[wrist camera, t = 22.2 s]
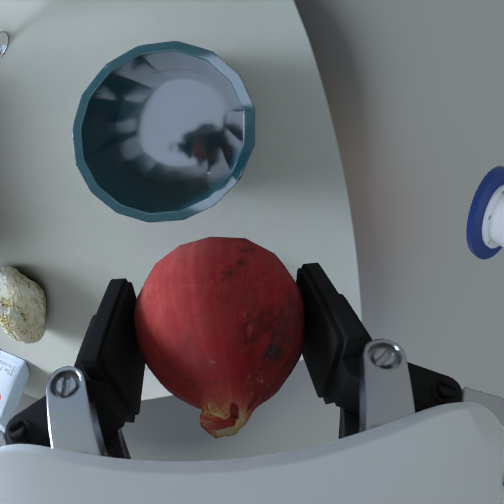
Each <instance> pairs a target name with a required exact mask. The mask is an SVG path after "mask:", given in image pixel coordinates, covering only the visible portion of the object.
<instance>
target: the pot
mask: <svg viewBox="0 0 504 504" xmlns="http://www.w3.org/2000/svg"><path fill="white" fill-rule="evenodd" d="M72 134H73V145H74V154H75V162H76V165H77V167H78V169H79V171H80V173H81V175H82V176H83V178H84V180H85V182H86V184H87V185H88V187H89V189H90V191H91V192H92V193H93V194H94V195H95V196H96V197H98V198H99V199H100V200H101V201H103V202H104V203H105V204H106V205H108V206H109V207H110V208H111V209H113V210H114V211H115V212H116V213H119V214H122V215H125V216H129V217H132V218H135V219H139V220H142V221H145V222H162V221H175V220H184V219H186V218H189V217H191V216H193V215H195V214H197V213H199V212H201V211H203V210H206V209H208V208H210V207H212V206H214V205H215V204H217V203H218V201H219V200H220V199H221V198H222V197H223V196H224V195H225V194H226V193H227V192H228V191H229V190H230V189H231V188H232V187H233V186H234V185H235V184H236V183H237V182H238V181H239V180H240V178H241V176H242V174H243V171H244V169H245V167H246V164H247V162H248V160H249V157H250V155H251V153H252V150H253V148H254V145H255V108H254V106H253V103H252V101H251V99H250V96H249V94H248V92H247V90H246V87H245V85H244V83H243V81H242V78H241V76H240V75H239V74H238V73H237V72H236V71H235V70H233V69H232V68H231V67H230V66H229V65H228V64H227V63H226V62H224V61H223V60H222V59H221V58H220V57H219V56H217V55H216V54H215V53H214V52H212V51H209V50H206V49H203V48H200V47H196V46H193V45H189V44H186V43H182V42H178V41H177V42H176V41H171V42H163V43H155V44H148V45H141V46H137V47H135V48H134V49H132V50H130V51H128V52H126V53H125V54H123V55H121V56H119V57H118V58H116V59H114V60H113V61H111V62H109V63H108V64H106V66H104V67H103V69H102V70H101V71H100V72H99V74H98V75H97V76H96V77H95V79H94V80H93V81H92V82H91V84H90V85H89V86H88V88H87V89H86V90H85V92H84V93H83V95H82V97H81V100H80V103H79V107H78V110H77V113H76V117H75V120H74V124H73V128H72Z"/></svg>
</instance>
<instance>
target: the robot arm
mask: <svg viewBox="0 0 504 504" xmlns="http://www.w3.org/2000/svg"><path fill="white" fill-rule="evenodd" d="M482 238H483V241H484V243H485V245H487V246H488V247H489V248H496V247H498V246H502V247H503V248H504V185H501V186H500V187H499V188H498V189H497V190H496V191H495V192H494V193H493V195H492V197H491V198H490V201H489V203H488V205H487V208H486V210H485V214H484V218H483V223H482ZM296 284H297V285H298V287H299V288H300V290H301V294H302V298H303V303H304V316H305V340H304V348H303V350H302V355H303V358H304V360H305V363H306V366H307V368H308V371H309V374H310V376H311V379H312V382H313V385H314V387H315V390H316V393H317V395H318V397H319V398H321V397H323V398H324V401H325V404H330V403H334V402H335V404H336V406H338V407H340V426H339V439H338V440H334V441H330V442H326V443H322V444H318V445H314V446H309V447H305V448H300V449H296V450H290V451H285V452H279V453H274V454H267V455H260V456H253V457H246V458H235V459H224V460H209V461H147V460H133V459H131V457H130V454H129V451H128V449H127V446H126V443H125V440H124V436H123V433H122V430H121V428H122V427H123V426H124V423H125V422H134V420H135V415H138V414H139V411H140V403H141V394H142V385H143V377H144V370H145V361H144V359H143V357H142V355H141V352H140V350H139V347H138V344H137V338H136V330H135V322H134V311H135V303H136V295H135V292H134V288H133V285H132V283H131V282H128V281H127V280H126V279H112V280H111V281H110V283H109V285H108V287H107V290H106V292H105V294H104V296H103V299H102V301H101V304H100V306H99V308H98V311H97V313H96V314H95V315H94V316H93V317H92V319H91V322H90V324H89V327H88V329H87V332H86V334H85V337H84V340H83V342H82V345H81V348H80V351H79V353H78V356H77V359H76V362H75V365H74V367H72V366H66V367H62V368H59V369H57V370H56V371H55V372H53V373H52V375H51V376H50V377H49V379H48V381H47V385H46V396H44V397H43V398H41V399H40V400H38V401H37V402H35V403H34V404H32V405H31V406H29V407H28V408H26V409H24V410H23V411H22V412H20V413H18V414H17V415H15V416H14V417H13V418H11V419H10V420H9V422H8V424H7V426H6V429H5V433H3V432H2V431H1V432H0V504H504V399H503V398H501V397H499V396H495V395H491V394H487V393H484V392H481V391H477V390H474V389H470V388H467V387H464V388H463V390H462V389H461V387H460V385H459V384H458V382H456V381H455V380H454V379H453V378H451V377H449V376H446V375H443V374H440V373H437V372H434V371H431V370H428V369H426V368H423V367H420V366H417V365H414V364H411V363H408V362H407V360H406V355H405V353H404V350H403V349H402V348H401V347H400V346H399V345H398V344H397V343H395V342H393V341H391V340H387V339H375V340H372V339H371V337H370V335H369V334H368V332H367V331H366V329H365V327H364V326H363V324H362V323H361V321H360V320H359V318H358V316H357V315H356V313H355V312H354V310H353V309H352V307H351V306H350V304H349V303H348V301H347V300H346V298H345V297H344V296H343V295H342V294H339V293H338V292H337V290H336V289H335V287H334V286H333V284H332V283H331V281H330V280H329V278H328V277H327V275H326V274H325V272H324V271H323V269H322V268H321V266H320V265H319V263H310V264H303V265H302V268H299V269H298V270H297V280H296Z"/></svg>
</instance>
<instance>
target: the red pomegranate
mask: <svg viewBox="0 0 504 504" xmlns="http://www.w3.org/2000/svg"><path fill="white" fill-rule="evenodd" d="M134 322H135V330H136V338H137V344H138V347H139V350H140V352H141V355H142V357H143V359H144V361H145V363H146V364H147V366H148V368H149V369H150V370H151V372H152V373H153V374H154V375H155V377H156V378H157V379H158V381H159V382H160V383H161V384H162V385H163V386H164V387H165V388H166V389H167V390H168V391H169V392H170V393H172V394H173V395H174V396H176V397H177V398H179V399H181V400H182V401H184V402H186V403H188V404H190V405H192V406H194V407H196V408H199V409H201V410H202V413H201V415H200V423H201V427H203V428H204V429H205V430H206V431H207V432H208V433H209V434H210V435H212V436H213V437H215V438H219V437H223V436H232V435H235V434H237V433H238V431H239V430H240V429H241V428H242V427H243V426H244V425H245V424H246V422H247V421H248V419H249V417H250V416H251V414H252V412H253V411H254V409H255V408H256V407H258V406H259V405H260V404H262V403H263V402H265V401H266V400H268V399H269V398H271V397H272V396H273V395H274V394H275V393H277V392H278V391H279V389H280V388H281V386H282V385H283V383H284V382H285V381H286V379H287V378H288V376H289V375H290V374H291V372H292V371H293V369H294V367H295V366H296V364H297V362H298V360H299V359H300V356H301V353H302V350H303V348H304V340H305V316H304V303H303V298H302V294H301V290H300V288H299V287H298V285H297V284H296V282H295V281H294V279H293V278H292V276H291V275H290V273H289V272H288V271H287V269H286V268H285V266H284V265H283V263H282V262H281V261H280V260H279V258H278V257H277V256H276V255H275V254H274V253H272V252H270V251H269V250H267V249H265V248H263V247H261V246H259V245H257V244H255V243H253V242H251V241H249V240H247V239H245V238H226V237H208V238H205V239H201V240H198V241H194V242H190V243H187V244H183V245H180V246H178V247H177V248H176V249H174V250H173V251H172V252H170V253H169V254H168V255H166V256H165V257H164V258H162V259H161V260H160V261H159V262H157V263H156V264H155V266H154V267H153V269H152V271H151V272H150V274H149V276H148V278H147V280H146V282H145V284H144V286H143V288H142V289H141V291H140V293H139V295H138V297H137V299H136V303H135V311H134Z"/></svg>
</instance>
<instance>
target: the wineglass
mask: <svg viewBox="0 0 504 504" xmlns="http://www.w3.org/2000/svg"><path fill="white" fill-rule="evenodd" d="M7 44H8V35H7V34H6V33H5V32H1V33H0V58H1V57H2V55H3V54H4V52H5V50H6V48H7Z"/></svg>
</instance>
